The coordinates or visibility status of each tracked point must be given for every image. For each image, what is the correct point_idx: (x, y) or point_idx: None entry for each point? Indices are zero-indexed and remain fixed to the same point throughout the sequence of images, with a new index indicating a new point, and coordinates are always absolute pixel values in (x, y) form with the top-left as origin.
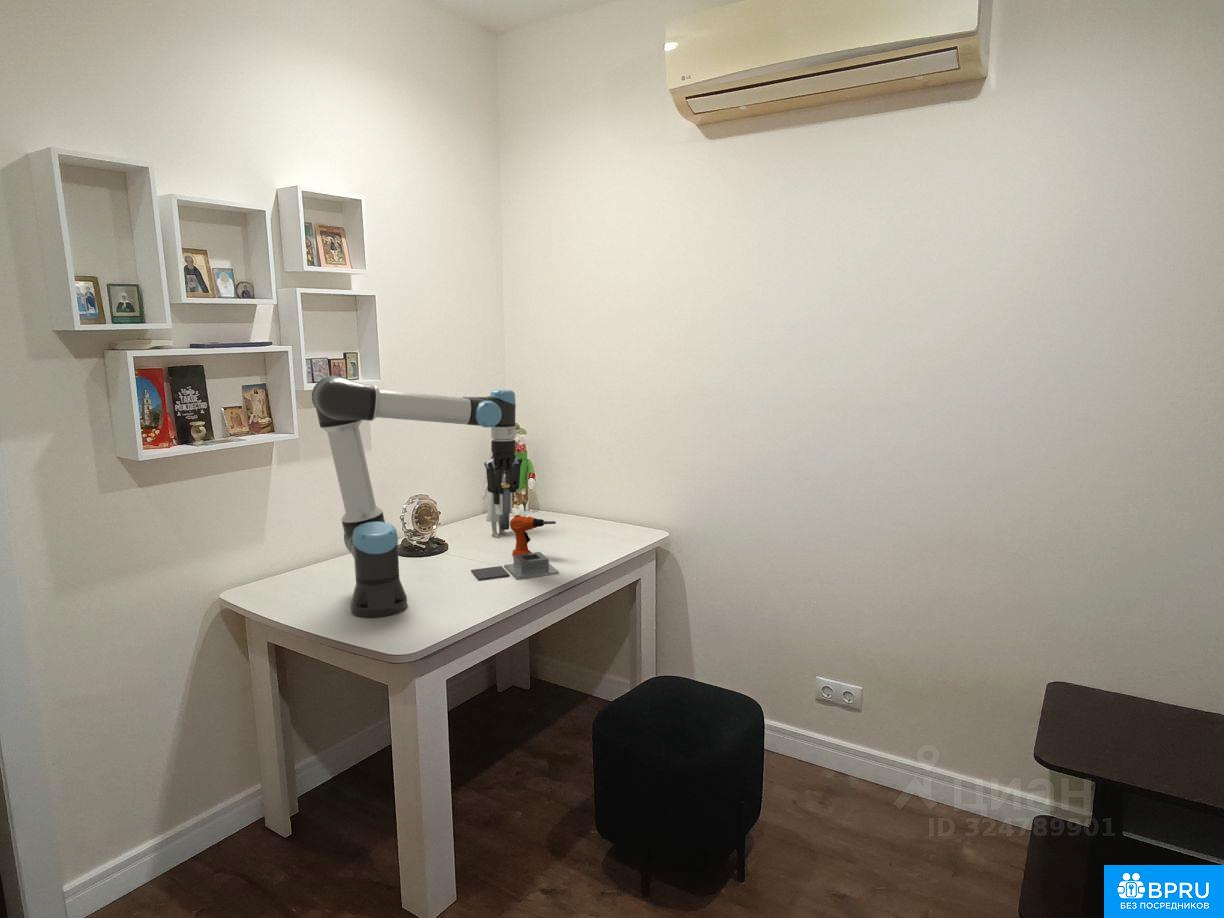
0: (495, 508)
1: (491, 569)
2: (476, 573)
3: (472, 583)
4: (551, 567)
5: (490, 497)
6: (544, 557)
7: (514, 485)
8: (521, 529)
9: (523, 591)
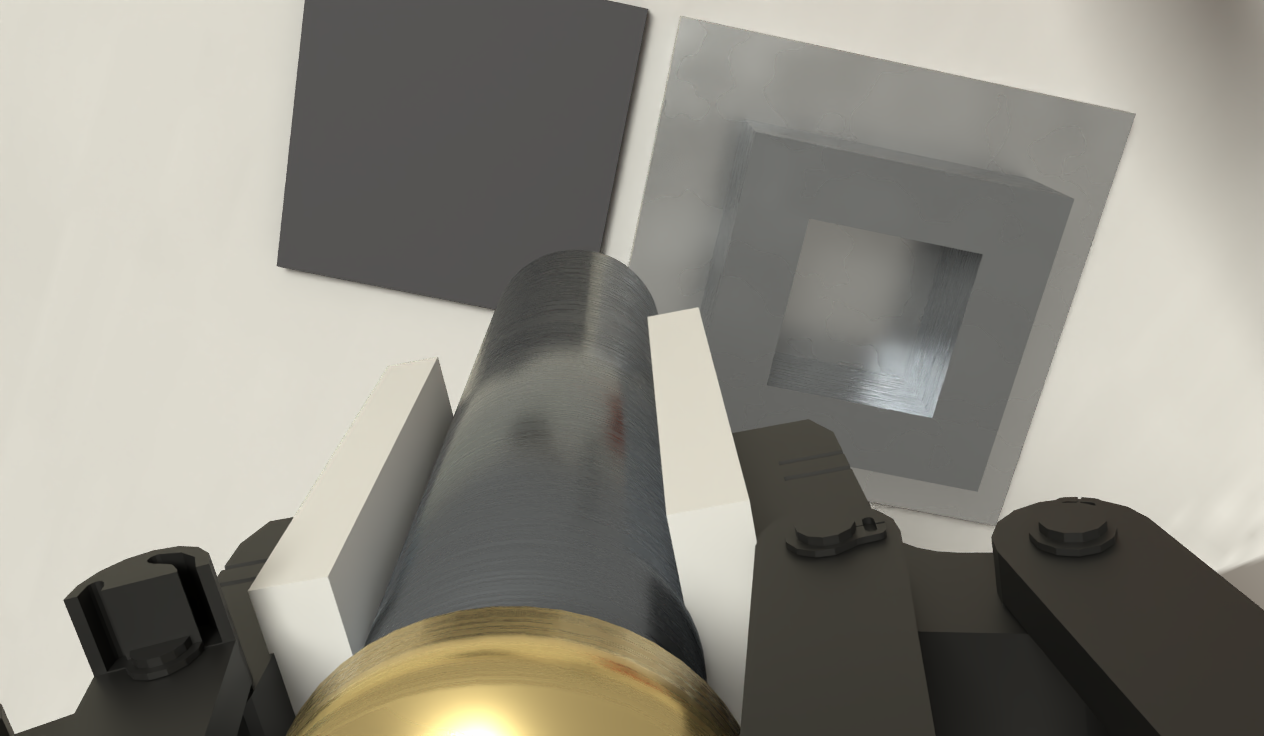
0: (365, 403)
1: (505, 63)
2: (318, 96)
3: (208, 298)
4: (1018, 386)
5: None
6: (980, 418)
7: (1069, 707)
8: None
9: None
